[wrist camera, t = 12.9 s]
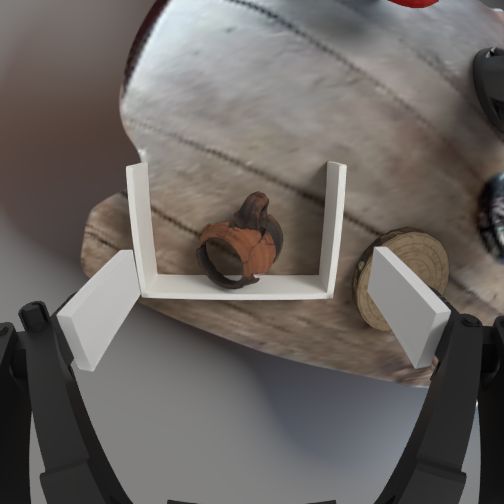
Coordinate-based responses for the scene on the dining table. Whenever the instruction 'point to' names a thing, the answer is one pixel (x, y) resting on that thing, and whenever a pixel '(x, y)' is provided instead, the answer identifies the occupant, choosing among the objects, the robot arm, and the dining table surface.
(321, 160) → the dining table surface
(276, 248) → the pottery mug
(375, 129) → the dining table surface
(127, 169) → the bin
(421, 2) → the decorative mushroom
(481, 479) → the robot arm
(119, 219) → the dining table surface
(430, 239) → the wood slice
